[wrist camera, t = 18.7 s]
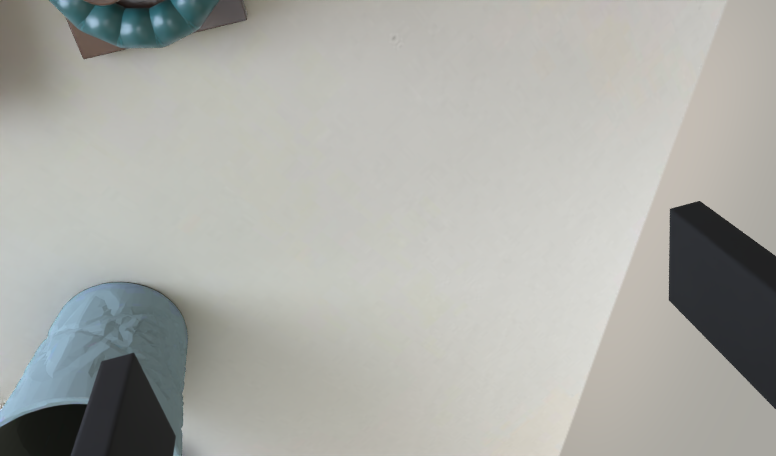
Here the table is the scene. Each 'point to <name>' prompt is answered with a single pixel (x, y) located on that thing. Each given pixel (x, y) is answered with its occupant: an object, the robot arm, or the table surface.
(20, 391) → the blue-grey embossed cup
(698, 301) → the robot arm
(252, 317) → the table surface
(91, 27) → the teal beaded ring
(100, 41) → the stand
